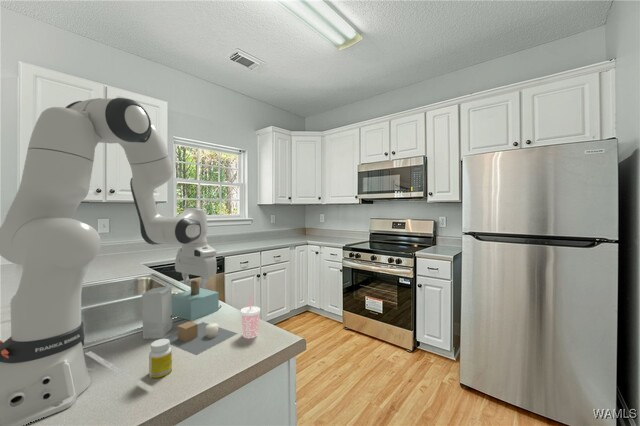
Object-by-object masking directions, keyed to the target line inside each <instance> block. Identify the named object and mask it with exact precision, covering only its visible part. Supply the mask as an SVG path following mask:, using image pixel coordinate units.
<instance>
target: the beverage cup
mask: <svg viewBox="0 0 640 426" xmlns="http://www.w3.org/2000/svg"><path fill="white" fill-rule="evenodd" d="M260 314H261V307H258V306H256V305H255V306H254V305H252V293H250V294H249V306H245V307H243V308H241V309H240V315H241V326H242V327H241V329H242V330H241V331H242V337H243V338H245V339H254V338H256V337H258V336H259V327H260V326H259V325H260Z"/></svg>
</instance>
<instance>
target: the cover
mask: <svg viewBox="0 0 640 426" xmlns="http://www.w3.org/2000/svg"><path fill="white" fill-rule="evenodd" d="M219 295H220V293H219V292H218V291H216V290H210V289H207V288H200V279H194V280H192V279H191V280H190V289H188V290H186V291H181V292H179V293H176V294H172V319H173V318H177V317H178V318H180V319H184V320H187V321H188V322H189V321H190V322H193V321H196V320H197V319H199V318H202V317H204V316H207V315H210V314H212V313H215V312H218V311H219V309H220V308H219V305H220V302H219V301H220V300H219V299H220V298H219V297H220V296H219Z"/></svg>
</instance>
